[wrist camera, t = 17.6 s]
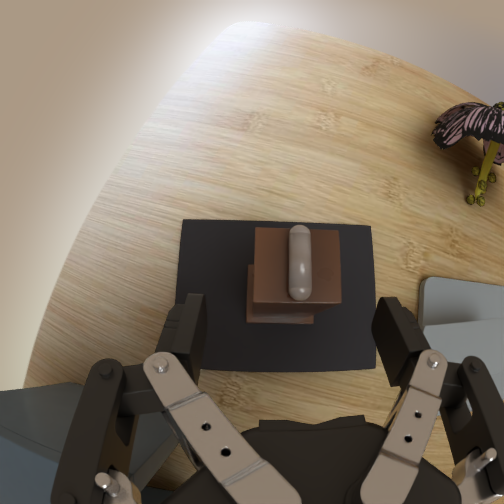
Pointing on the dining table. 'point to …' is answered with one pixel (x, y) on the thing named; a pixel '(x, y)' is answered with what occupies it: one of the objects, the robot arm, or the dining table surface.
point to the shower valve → (464, 322)
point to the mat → (276, 335)
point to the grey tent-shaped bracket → (53, 439)
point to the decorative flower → (479, 126)
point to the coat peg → (293, 275)
